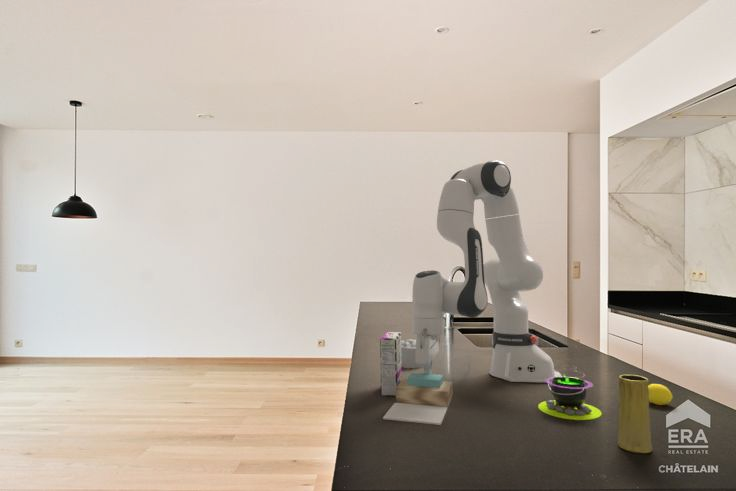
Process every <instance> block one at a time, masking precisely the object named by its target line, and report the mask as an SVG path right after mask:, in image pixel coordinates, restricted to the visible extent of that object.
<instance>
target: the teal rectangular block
mask: <svg viewBox="0 0 736 491" xmlns="http://www.w3.org/2000/svg"><path fill="white" fill-rule="evenodd" d="M443 381H444V374H434V373H431V374H424V372H423V373H421V372H411V373H410V374H409V375H408V376H407V385H410V386H423V387H436V388H440V387H441V385H442V383H443Z"/></svg>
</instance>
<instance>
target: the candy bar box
mask: <svg viewBox="0 0 736 491" xmlns="http://www.w3.org/2000/svg"><path fill="white" fill-rule="evenodd" d="M401 340H402V332H401V331H400V332H399V331H386V332H385V333H384V334H383V335H382V337H380V338H379V343H380V344H379V345H380V346H379V347H380V351H379V352H380V394H381V396H383V397H384V396H385V397H386V396H387V397H396V387H397V386H398V385H399V384H400V382H401V381H402V380H403V372H402V369H403V367H402V359H401Z"/></svg>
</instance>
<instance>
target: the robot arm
mask: <svg viewBox="0 0 736 491" xmlns="http://www.w3.org/2000/svg"><path fill="white" fill-rule="evenodd" d="M511 184H512V175H511V172H510V169H509V168H508V166H507V165H506V163H505V162H503V161H500V160H489V161H487V162H481V163H477V164H474V165H472V166H469V167H467V168H464V169H461V170H458V171H457V172H455V173H454V174H452V175H451V177H450V179H449V180H448V181H446V182H445V183H444V184H443V188H442V191H441V193H440V197H439V202H438V207H437V214H436V215H437V216H436V228H437V232H438V233H439V234H440V236H441V237H442V238H443V239H444V240H446V242H447V241H448V242H450V243H452V244H454V245H455V246H457V247H459V248H460V249H461V250H462V252H463V257H464V258H463V259H464V260H463V262H464V277H465V278H464V281H463V282H462V281H461V282H460V281H451V280H450V281H449V280H448V279H445V278H444V277H443V276H442V275H441V274H442V273H441V272H440V271H439V270H424V271H421V272H418V273H417V274H415V276H414V278H413V282H412V293H411V294H412V304H413V311H412V333H413V334H415V335H416V349H415V362H416V365H421V366H423V367H422V368H423V374H433V364H434V363H433V362H434V359H435V357H436V356H437V355H438V354H439V351H440V345H441V337H442V336H441V335H442V334H444V315H443V313H444V314H450V315H458V316H462V317H463V316H464V317H468V318H469V319H470V318H471V319H472V318H473V319H474V318H477V317H478V316H480V315H481V314H482V313H483V312H484V311H485V310H486V308H487V306H488V303H489V302H488V293H489V296H490V297H489V298H490V300H491V304H492V312H493V313H492V314H493V316H492V317H493V331H492V335H491V339H492V340H491V343H492V344H491V345H492V348H493V349H492V350H493V351H492V358H491V365H490V369H489V375H491V376H492V377H494V378H498V379H502V380H505V381H508V382H511V383H512V382H513V383H514V382H515V383H546V382H547V381H549V379H548V380H546V378H551V377H553V378H554V377H562V374H561V373H560V372H559V371H558V370H557V371H554V370H555V364H554V362H553V359H552V358H551V356H550V355H549V354H547V353H546V352H545V351H544V350H543V349H541V348H540V347H539V346H537V345H536V343H537V341H538V338H537V336H535V335H534V334H533V333H531V332H529V310H528V307H527V306H526V304H525V303H524V302H523V300H522V297H521V294H520V292H529V291H532V290H536V289H537V288H539V286H540V285H541V284H542V281H543V278H544V270H543V268H542V266H541V265H540V263H539V262H538V261H536V260H535V258H533V256H532V255H531V253H530V250H529V248H528V246H527V244H526V242H525V239H524V235H523V230H522V222H521V217H520V211H519V206H518V205H519V204H518V201H517V198H516V195H515V192H514V189H513V187H511ZM477 200H478V201H479V200H481V201H482V202H483V211H484V220H485V221H484V222H485V227H486V233H487V241H488V243H489V244H490V245H491V246H492V247H493V249H494V250H495V252H496V254H497V257H495V258H491V259H490V260H488V261H486V262H484V251H483V250H484V249H483V242H482V236H481V234H480V231H478V230H477V229H476V227H475V224H474V213H475V201H477ZM486 288H487V289H486ZM487 290H488V293H487ZM553 373H554V374H553ZM558 375H559V376H558ZM544 380H545V381H546V382H545V381H544ZM552 381H553V380H551V381H550V382H551V383H552ZM547 383H548V382H547ZM551 383H550V384H551Z"/></svg>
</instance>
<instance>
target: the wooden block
mask: <svg viewBox="0 0 736 491" xmlns="http://www.w3.org/2000/svg"><path fill="white" fill-rule="evenodd" d="M407 378H408V377H407ZM407 378H406V377H403V378H402V381H401V382H400V384H399V385H398V386H397V387H396V396H395V403H405V404H416V405H427V406H438V407H447V408H449V406H450V404H451V402H452V399H453V397H454V396H453V395H454V393H453V388H454V387H453V386H454V385H453V382H454V381H445V380H443V383H442V385H441V387H440V388H436V387H423V386H410V385H407Z"/></svg>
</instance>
